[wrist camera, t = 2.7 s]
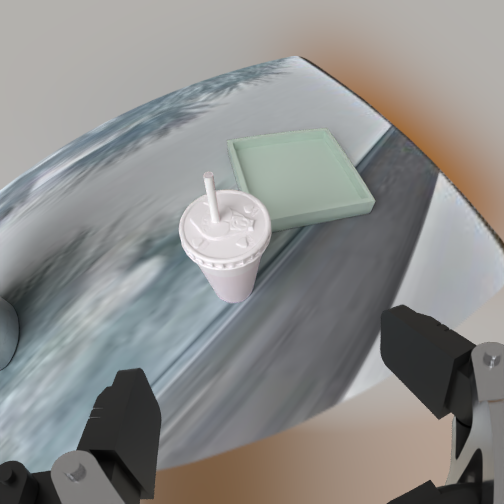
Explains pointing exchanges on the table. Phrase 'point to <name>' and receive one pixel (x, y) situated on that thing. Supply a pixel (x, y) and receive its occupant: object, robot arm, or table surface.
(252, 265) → the smoothie
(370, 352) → the table surface
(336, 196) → the tray
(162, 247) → the table surface
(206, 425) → the table surface
